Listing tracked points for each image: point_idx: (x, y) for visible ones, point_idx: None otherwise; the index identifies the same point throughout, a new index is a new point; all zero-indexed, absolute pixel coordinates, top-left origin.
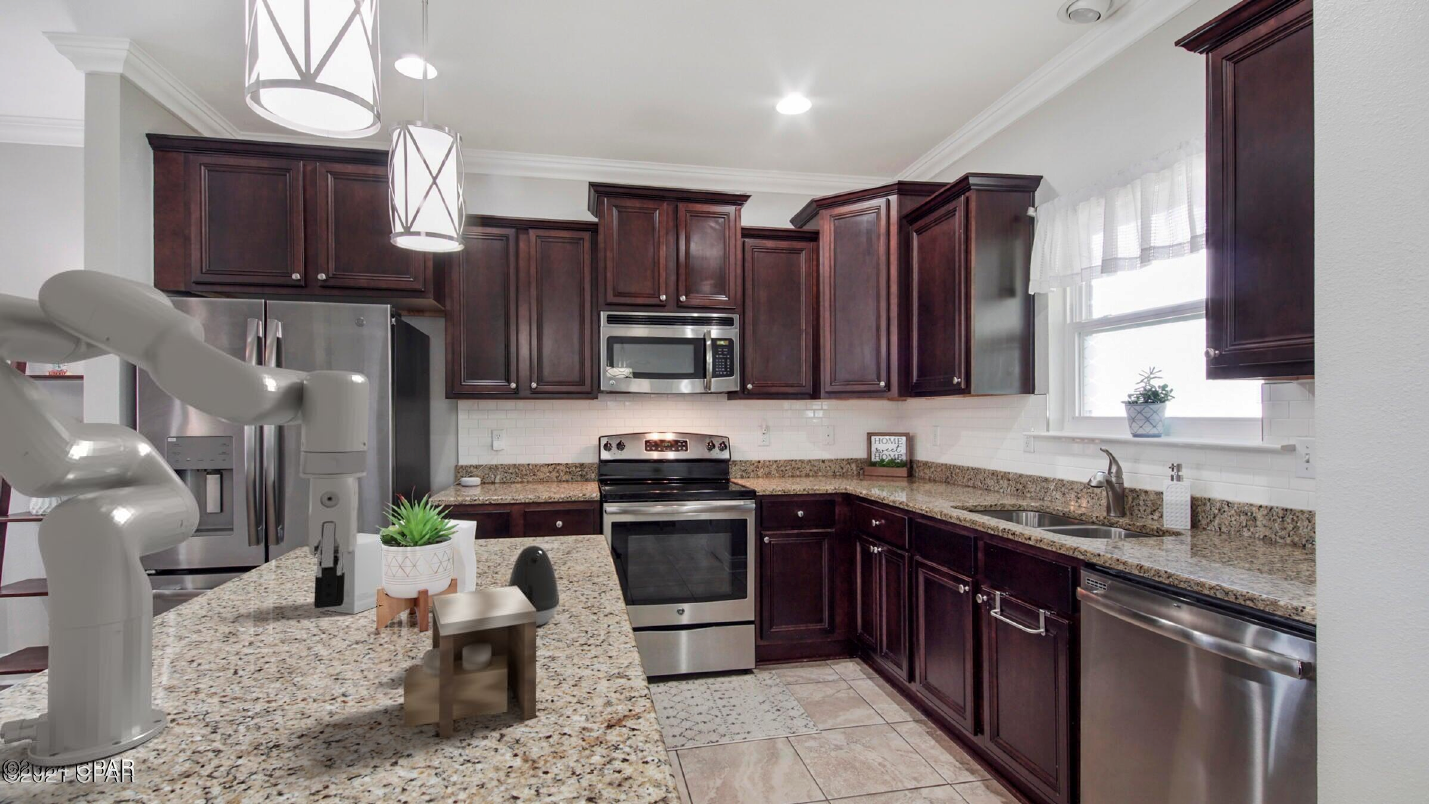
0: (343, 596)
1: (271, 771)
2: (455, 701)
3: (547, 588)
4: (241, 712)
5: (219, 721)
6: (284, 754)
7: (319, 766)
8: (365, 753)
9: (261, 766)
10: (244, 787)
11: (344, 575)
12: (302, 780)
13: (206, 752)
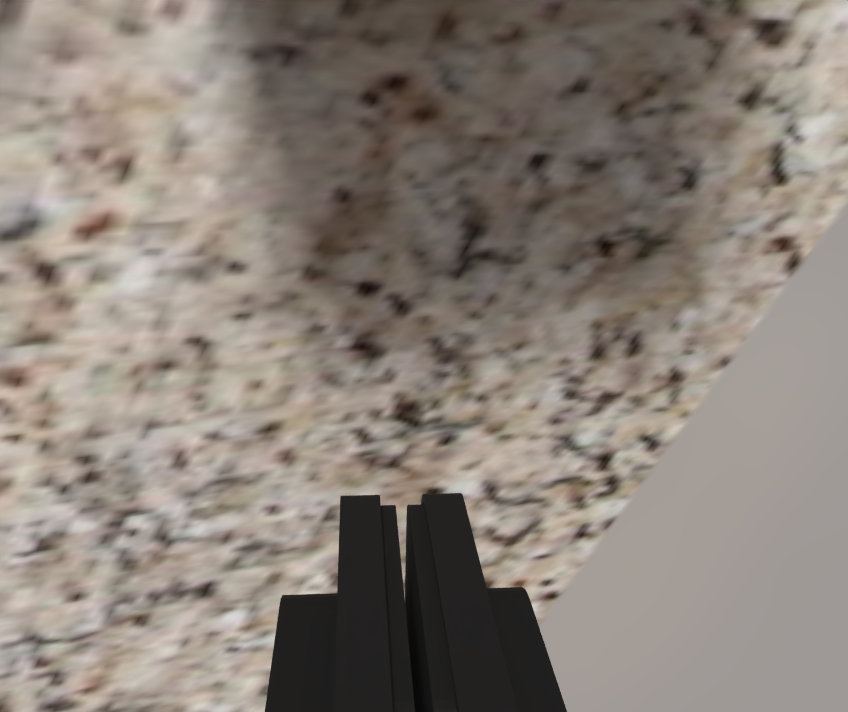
0: (380, 524)
1: (584, 400)
2: None
3: None
4: (67, 552)
5: (122, 594)
6: (486, 381)
7: (636, 274)
8: (632, 134)
9: (534, 430)
10: (640, 449)
11: (387, 700)
12: (698, 312)
13: None
